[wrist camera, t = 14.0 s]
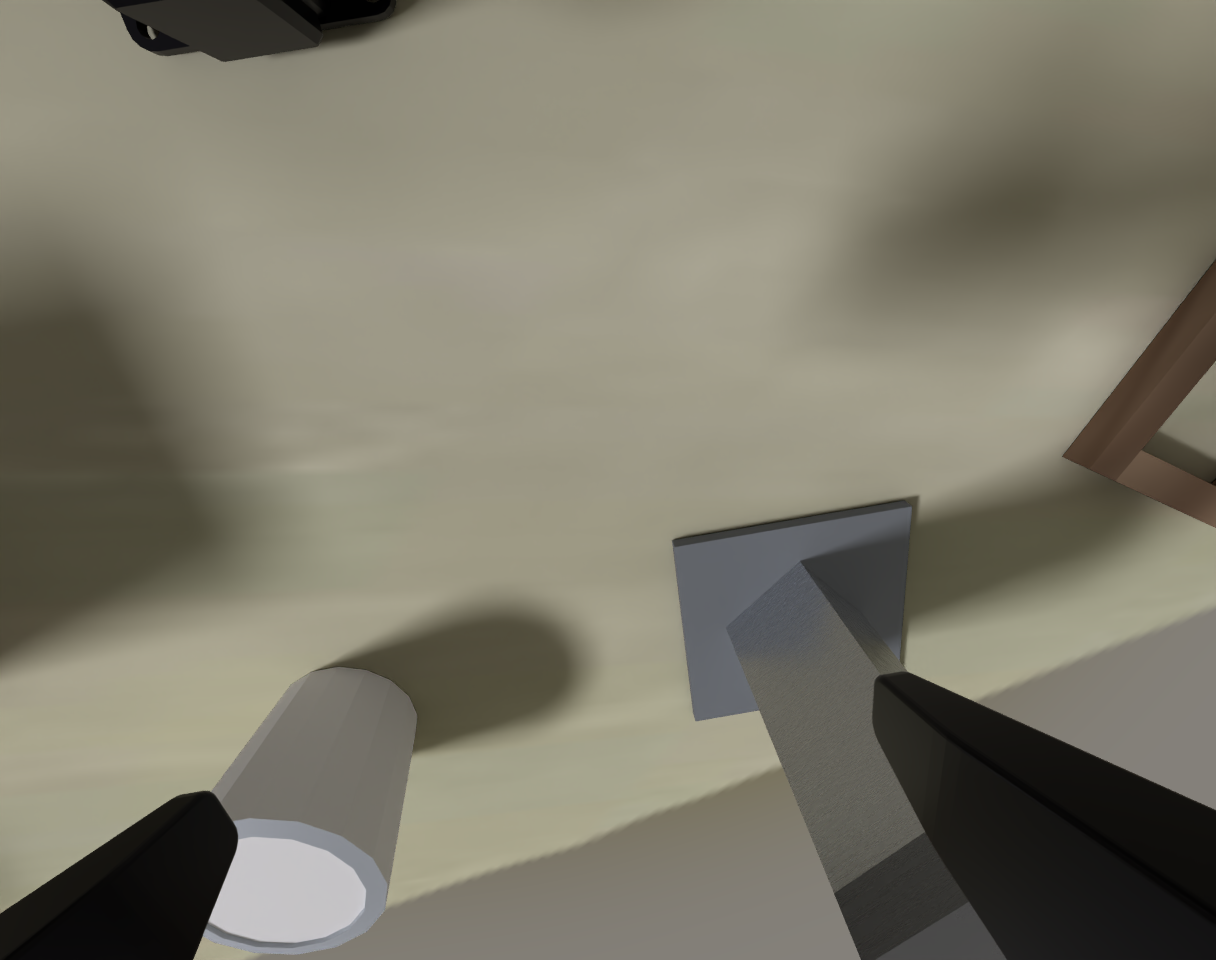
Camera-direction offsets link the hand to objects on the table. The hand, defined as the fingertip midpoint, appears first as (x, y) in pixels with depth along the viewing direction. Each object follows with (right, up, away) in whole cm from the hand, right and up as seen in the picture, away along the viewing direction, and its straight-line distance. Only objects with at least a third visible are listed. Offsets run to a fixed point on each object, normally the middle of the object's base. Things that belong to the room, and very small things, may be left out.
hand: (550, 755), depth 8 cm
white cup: (-10, -6, +17) cm, 20 cm away
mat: (+8, -2, +16) cm, 18 cm away
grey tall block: (+8, -2, +15) cm, 18 cm away
